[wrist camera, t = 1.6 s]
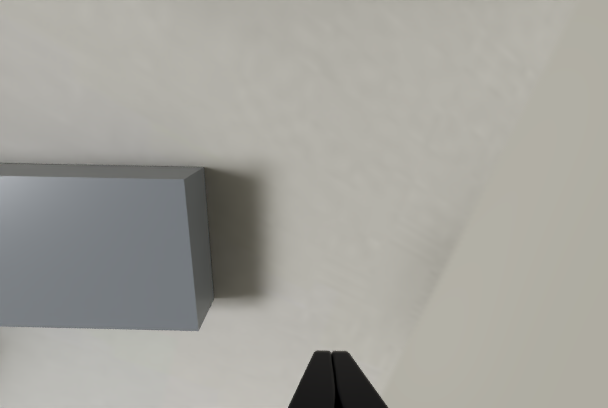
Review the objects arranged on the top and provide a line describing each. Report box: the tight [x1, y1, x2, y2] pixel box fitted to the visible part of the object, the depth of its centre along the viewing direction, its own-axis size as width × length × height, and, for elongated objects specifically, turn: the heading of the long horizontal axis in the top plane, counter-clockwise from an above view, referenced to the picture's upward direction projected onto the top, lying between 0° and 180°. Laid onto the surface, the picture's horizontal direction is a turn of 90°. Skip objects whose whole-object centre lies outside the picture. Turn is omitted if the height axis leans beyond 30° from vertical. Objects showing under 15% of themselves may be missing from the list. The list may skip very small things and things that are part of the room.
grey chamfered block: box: [0, 163, 214, 331], centre depth 15 cm, size 16×7×2 cm, turn 89°
